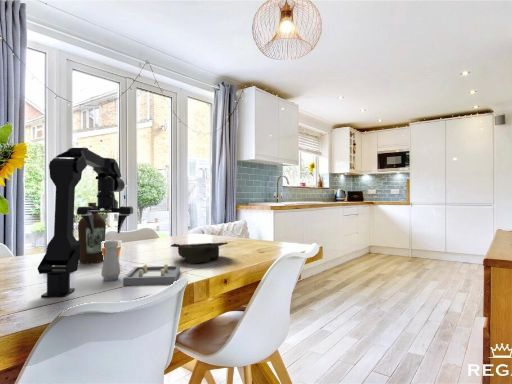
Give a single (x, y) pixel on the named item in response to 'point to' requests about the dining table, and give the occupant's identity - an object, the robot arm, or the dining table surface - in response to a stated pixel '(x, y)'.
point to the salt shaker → (110, 261)
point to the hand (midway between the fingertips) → (105, 233)
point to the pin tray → (152, 275)
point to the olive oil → (91, 238)
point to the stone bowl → (199, 251)
